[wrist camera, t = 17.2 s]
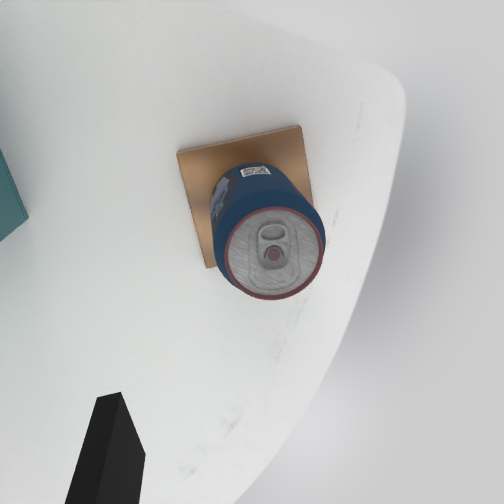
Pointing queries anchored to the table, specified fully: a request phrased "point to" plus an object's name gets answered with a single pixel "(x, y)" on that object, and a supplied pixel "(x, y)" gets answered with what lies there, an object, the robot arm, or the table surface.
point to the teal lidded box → (9, 202)
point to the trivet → (229, 156)
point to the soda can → (265, 232)
